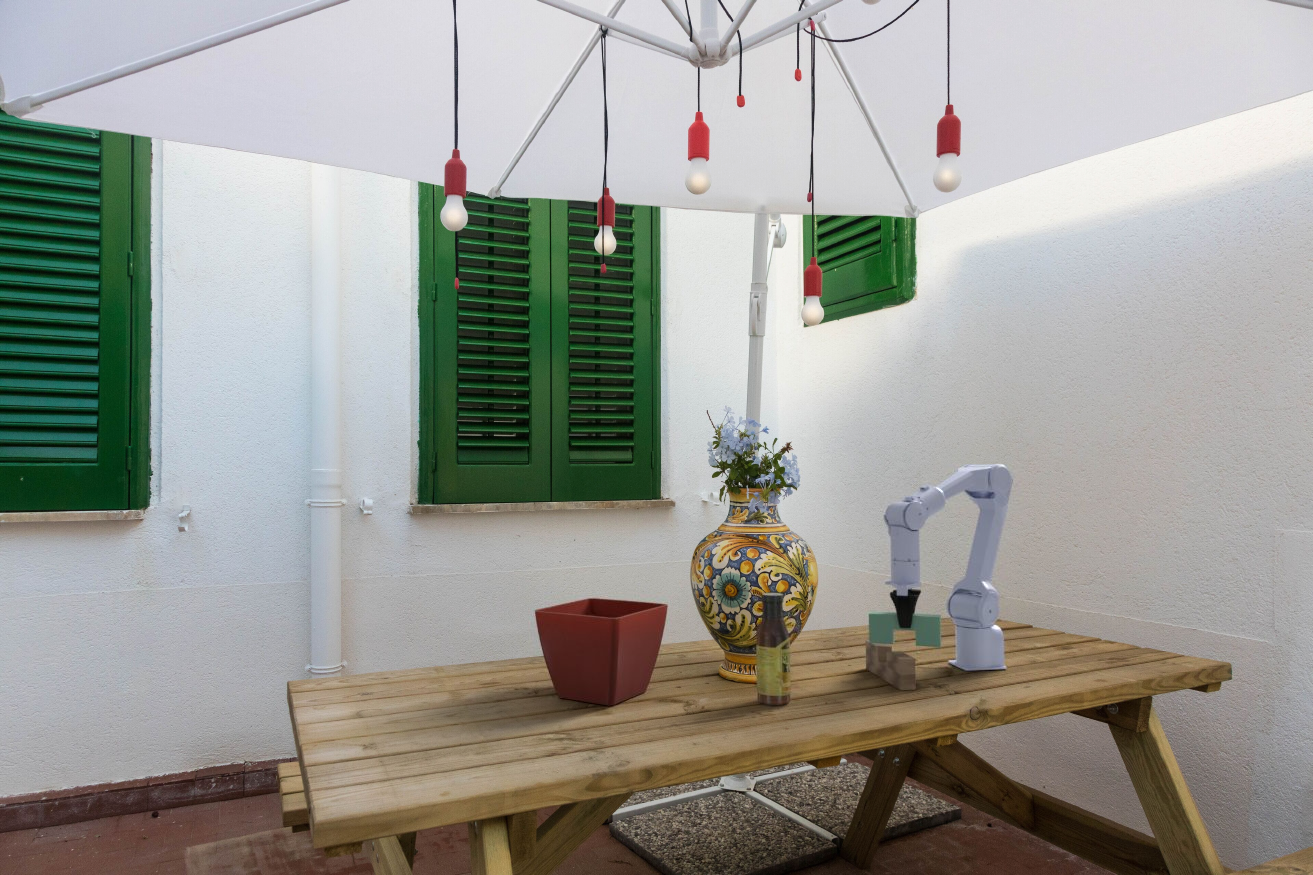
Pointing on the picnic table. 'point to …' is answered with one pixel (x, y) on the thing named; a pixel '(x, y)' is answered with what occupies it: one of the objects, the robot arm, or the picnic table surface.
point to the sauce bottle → (773, 653)
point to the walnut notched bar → (891, 665)
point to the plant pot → (601, 647)
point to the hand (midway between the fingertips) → (906, 626)
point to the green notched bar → (922, 624)
